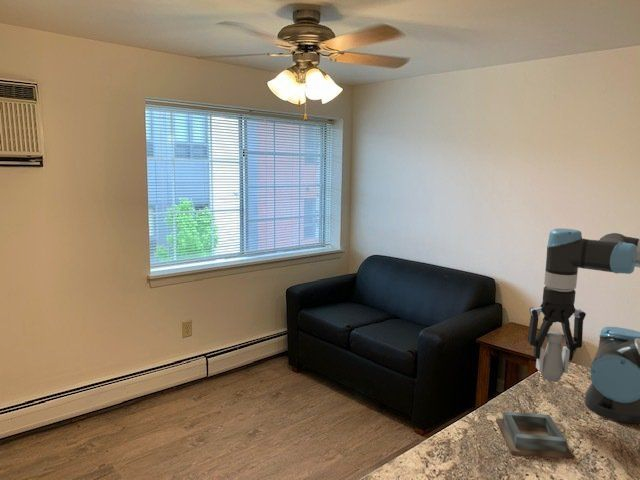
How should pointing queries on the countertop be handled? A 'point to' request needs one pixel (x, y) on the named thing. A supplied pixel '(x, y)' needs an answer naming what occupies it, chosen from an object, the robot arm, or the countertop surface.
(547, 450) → the collar socket
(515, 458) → the countertop surface
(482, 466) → the countertop surface
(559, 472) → the countertop surface
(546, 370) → the salt shaker
